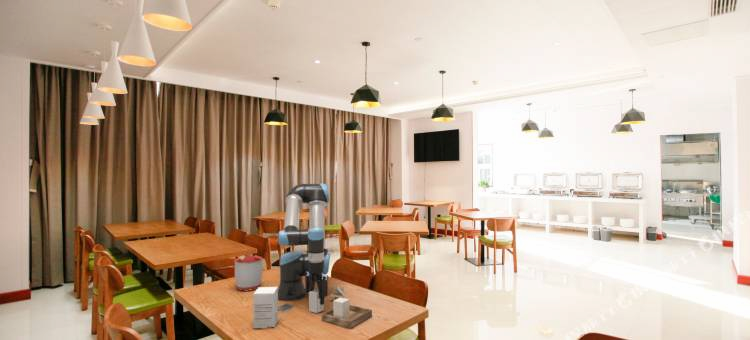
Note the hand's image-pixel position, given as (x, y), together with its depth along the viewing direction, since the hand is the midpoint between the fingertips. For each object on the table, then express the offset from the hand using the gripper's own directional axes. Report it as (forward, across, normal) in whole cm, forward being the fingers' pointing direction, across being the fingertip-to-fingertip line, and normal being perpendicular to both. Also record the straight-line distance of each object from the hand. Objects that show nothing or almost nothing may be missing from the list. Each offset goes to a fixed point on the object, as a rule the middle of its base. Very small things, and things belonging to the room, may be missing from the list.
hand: (316, 309), depth 167 cm
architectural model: (+1, 0, +16) cm, 16 cm away
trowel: (+1, -15, -10) cm, 18 cm away
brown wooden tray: (0, +18, +1) cm, 18 cm away
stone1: (0, +18, -3) cm, 18 cm away
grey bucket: (+1, -58, +4) cm, 58 cm away
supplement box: (+1, -8, -23) cm, 25 cm away
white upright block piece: (0, 0, 0) cm, 0 cm away
